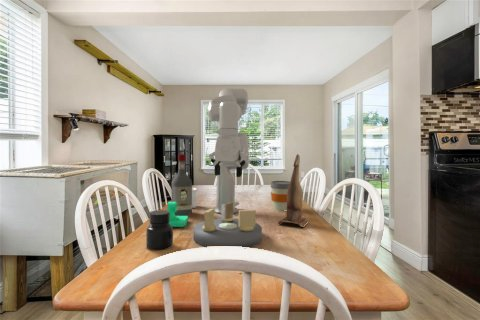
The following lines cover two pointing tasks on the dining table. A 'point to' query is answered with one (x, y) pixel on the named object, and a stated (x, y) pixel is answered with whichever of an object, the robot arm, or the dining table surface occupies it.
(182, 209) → the liquor
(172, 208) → the camera mount
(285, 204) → the reusable coffee cup
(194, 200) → the white cup
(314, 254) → the dining table surface
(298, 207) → the bird sculpture
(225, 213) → the footscrew knob
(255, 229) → the tribrach base
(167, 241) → the ink bottle
